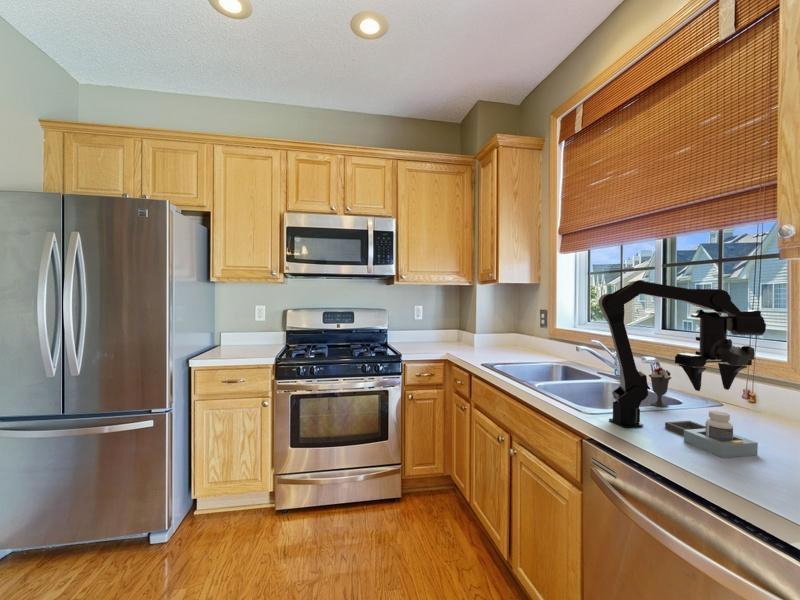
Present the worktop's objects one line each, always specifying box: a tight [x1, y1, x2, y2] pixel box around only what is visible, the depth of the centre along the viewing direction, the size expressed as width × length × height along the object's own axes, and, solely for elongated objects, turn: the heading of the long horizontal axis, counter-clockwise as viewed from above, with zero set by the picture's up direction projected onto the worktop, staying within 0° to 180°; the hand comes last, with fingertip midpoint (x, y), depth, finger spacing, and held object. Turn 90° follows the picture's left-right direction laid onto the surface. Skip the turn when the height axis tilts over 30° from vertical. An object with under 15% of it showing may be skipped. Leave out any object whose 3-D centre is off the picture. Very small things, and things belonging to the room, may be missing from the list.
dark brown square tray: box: [664, 420, 706, 436], centre depth 103 cm, size 8×8×2 cm
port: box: [683, 428, 759, 459], centre depth 93 cm, size 10×10×3 cm
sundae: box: [648, 362, 673, 408], centre depth 128 cm, size 7×7×15 cm
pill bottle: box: [705, 410, 734, 442], centre depth 93 cm, size 5×5×9 cm
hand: (712, 390), depth 102 cm, fingers open, 9 cm apart
